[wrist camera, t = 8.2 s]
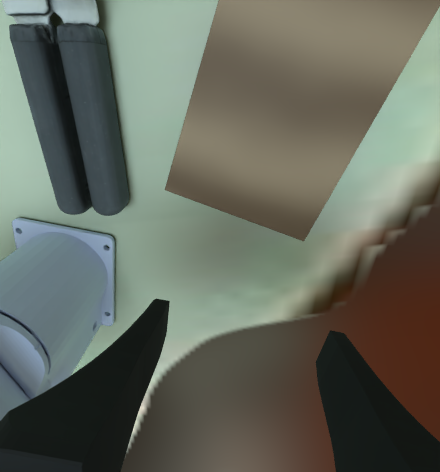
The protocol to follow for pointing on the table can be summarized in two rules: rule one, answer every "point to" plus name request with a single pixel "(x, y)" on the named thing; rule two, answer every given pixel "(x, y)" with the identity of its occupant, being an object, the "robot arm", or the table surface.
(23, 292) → the robot arm
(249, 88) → the walnut block
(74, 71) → the can opener
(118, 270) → the table surface
